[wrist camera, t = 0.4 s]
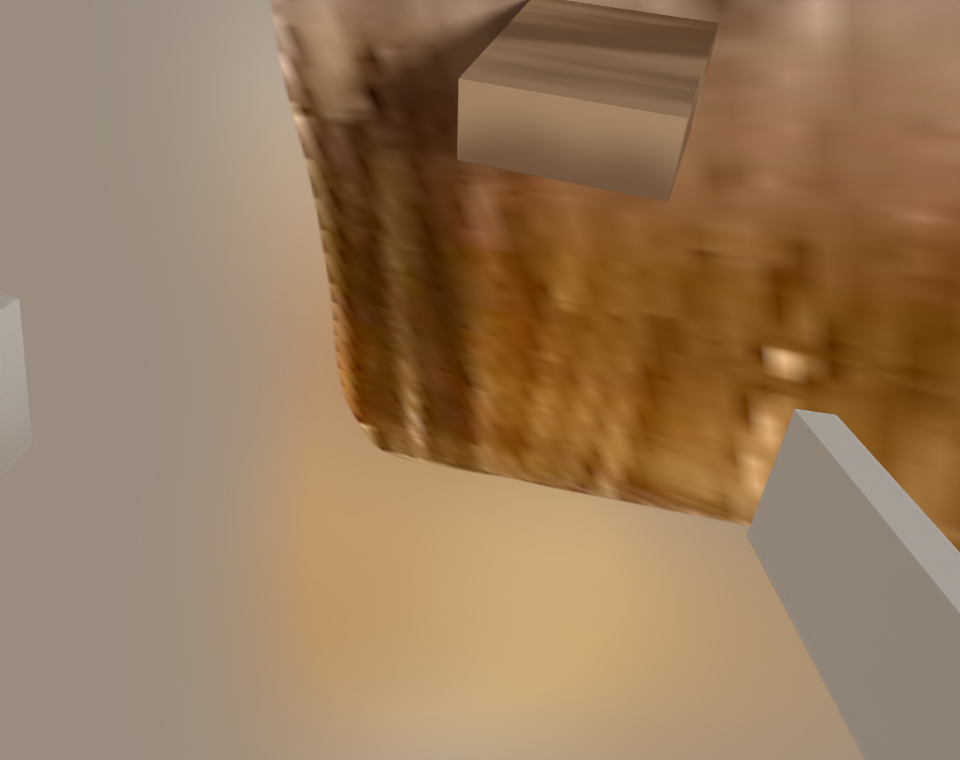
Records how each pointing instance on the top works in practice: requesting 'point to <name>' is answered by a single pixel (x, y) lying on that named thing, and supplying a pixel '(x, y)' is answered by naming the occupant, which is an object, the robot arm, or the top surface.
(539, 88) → the tile
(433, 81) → the top surface
